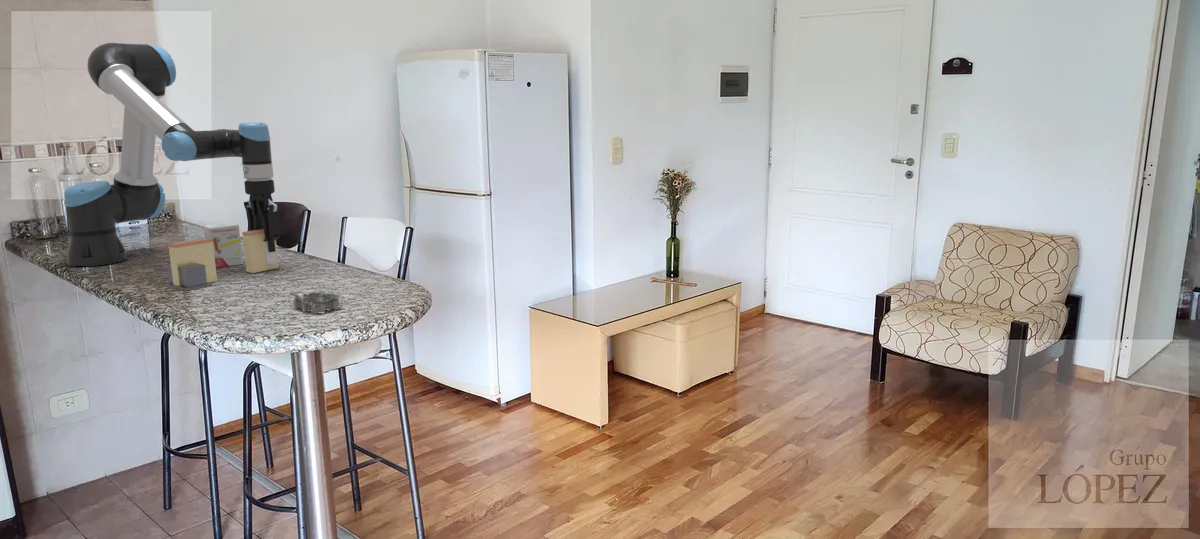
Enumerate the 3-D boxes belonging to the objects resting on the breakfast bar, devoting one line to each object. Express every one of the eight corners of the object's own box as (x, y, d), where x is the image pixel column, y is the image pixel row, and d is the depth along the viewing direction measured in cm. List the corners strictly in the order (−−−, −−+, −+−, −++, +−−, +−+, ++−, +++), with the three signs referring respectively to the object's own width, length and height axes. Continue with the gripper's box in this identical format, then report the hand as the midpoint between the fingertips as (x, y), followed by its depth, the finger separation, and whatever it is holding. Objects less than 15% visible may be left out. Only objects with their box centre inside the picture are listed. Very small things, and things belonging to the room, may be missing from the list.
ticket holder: (164, 285, 203) (158, 242, 201) (203, 278, 212) (198, 236, 209) (185, 290, 198) (180, 246, 195) (224, 282, 206) (220, 240, 204)
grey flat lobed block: (289, 309, 181) (287, 292, 181) (318, 302, 187) (316, 285, 186) (315, 316, 175) (313, 298, 174) (344, 309, 181) (343, 292, 180)
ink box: (212, 268, 224) (207, 227, 221) (207, 265, 227) (202, 225, 225) (243, 264, 229) (239, 224, 227) (238, 261, 233) (234, 222, 230)
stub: (246, 271, 218) (242, 232, 216) (272, 266, 225) (268, 227, 222) (253, 273, 217) (248, 233, 214) (278, 267, 223) (274, 228, 221)
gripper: (229, 179, 218) (238, 261, 223) (264, 182, 209) (272, 268, 214) (254, 176, 224) (262, 257, 229) (288, 179, 215) (296, 263, 220)
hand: (267, 262), depth 222 cm, fingers closed on stub, 3 cm apart
